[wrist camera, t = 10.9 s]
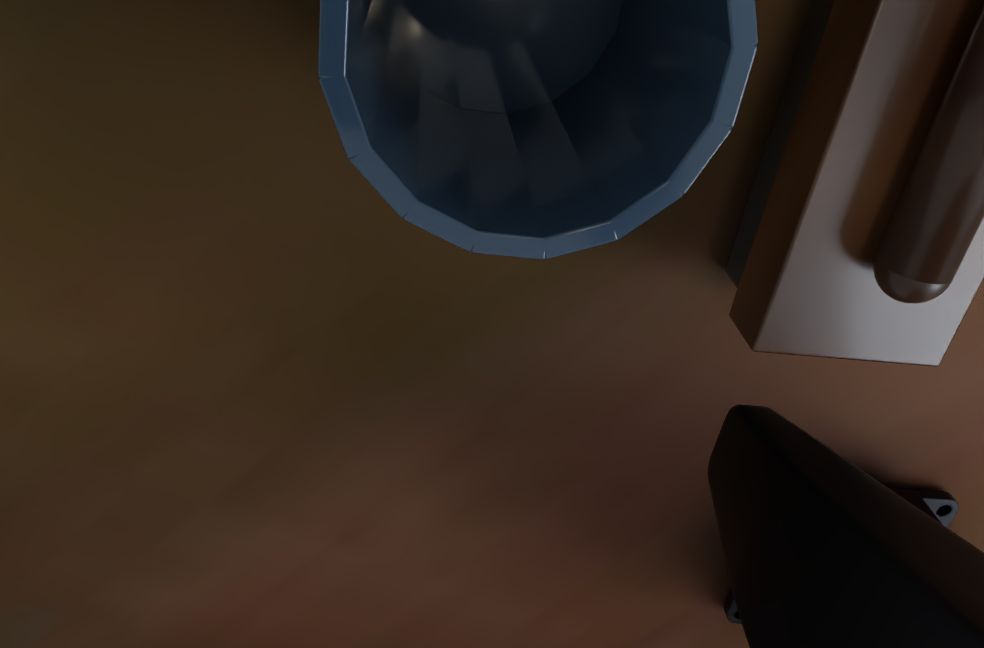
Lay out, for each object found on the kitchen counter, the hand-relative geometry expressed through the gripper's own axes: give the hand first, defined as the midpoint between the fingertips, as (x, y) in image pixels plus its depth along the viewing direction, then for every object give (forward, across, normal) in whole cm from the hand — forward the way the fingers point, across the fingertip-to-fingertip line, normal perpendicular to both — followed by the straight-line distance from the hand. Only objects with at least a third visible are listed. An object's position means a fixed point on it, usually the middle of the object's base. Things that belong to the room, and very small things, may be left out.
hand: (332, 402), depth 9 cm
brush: (+12, -12, -3) cm, 17 cm away
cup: (+12, -2, -3) cm, 13 cm away
